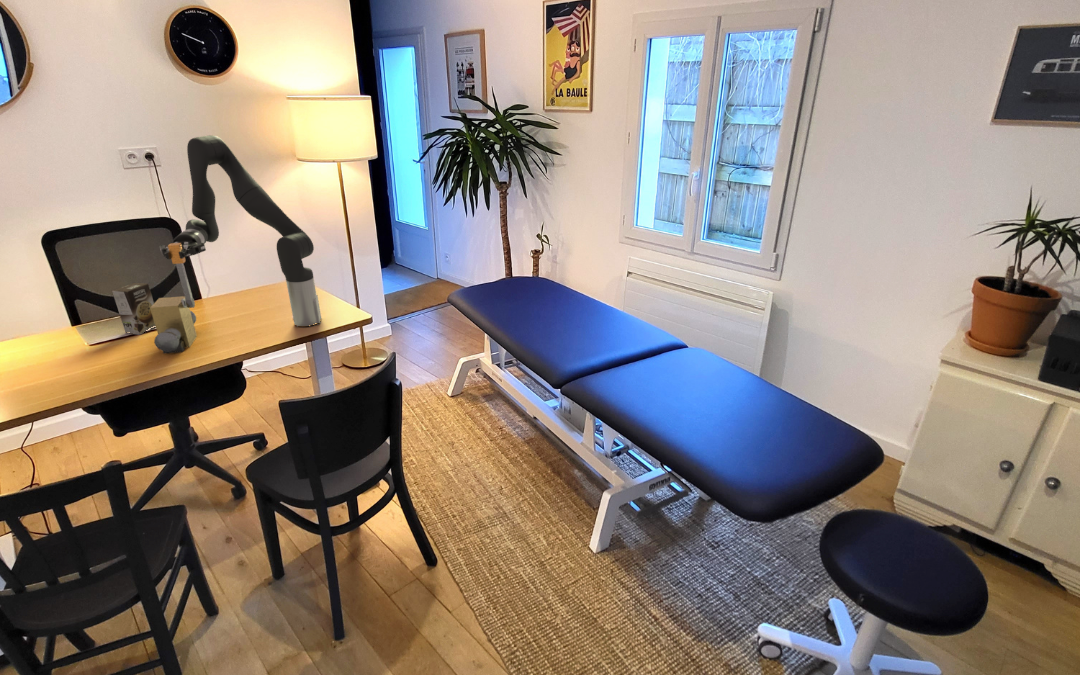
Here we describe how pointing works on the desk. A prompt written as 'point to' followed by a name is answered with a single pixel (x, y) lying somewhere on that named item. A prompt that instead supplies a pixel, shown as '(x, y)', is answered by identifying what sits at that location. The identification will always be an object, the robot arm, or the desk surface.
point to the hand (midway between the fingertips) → (174, 255)
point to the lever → (181, 272)
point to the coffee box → (135, 307)
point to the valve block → (173, 324)
